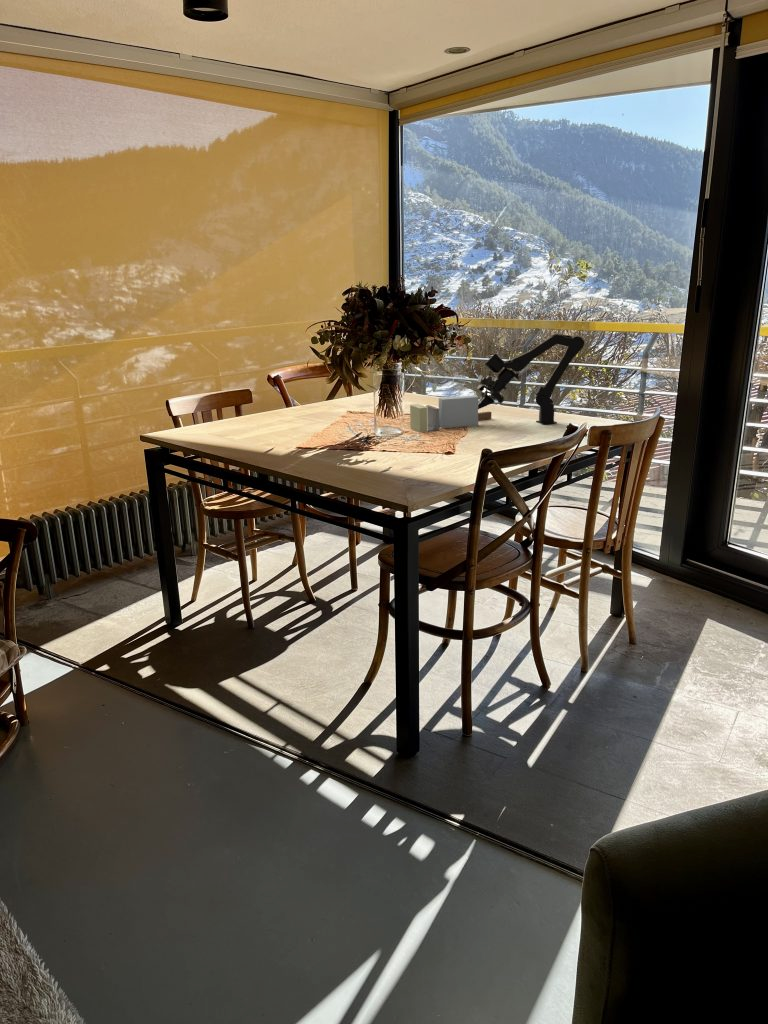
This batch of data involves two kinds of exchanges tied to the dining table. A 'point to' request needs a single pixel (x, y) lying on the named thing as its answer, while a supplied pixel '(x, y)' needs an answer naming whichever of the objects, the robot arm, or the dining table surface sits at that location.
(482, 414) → the rail
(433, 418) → the bookend
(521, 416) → the dining table surface
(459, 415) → the boxed book
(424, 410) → the shelved book
